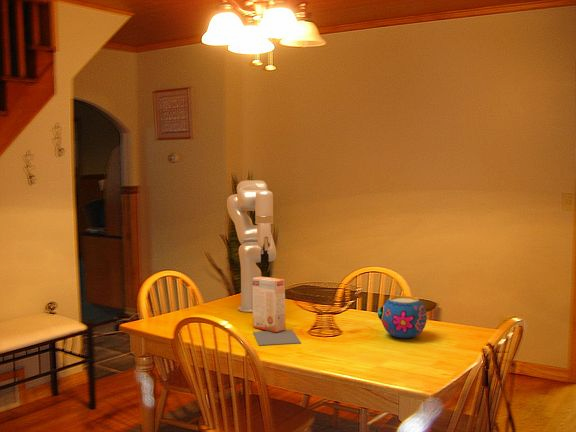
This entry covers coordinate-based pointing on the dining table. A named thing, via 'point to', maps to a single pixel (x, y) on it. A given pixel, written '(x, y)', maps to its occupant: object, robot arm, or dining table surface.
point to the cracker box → (269, 304)
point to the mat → (276, 337)
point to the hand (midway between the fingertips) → (264, 263)
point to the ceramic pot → (403, 316)
